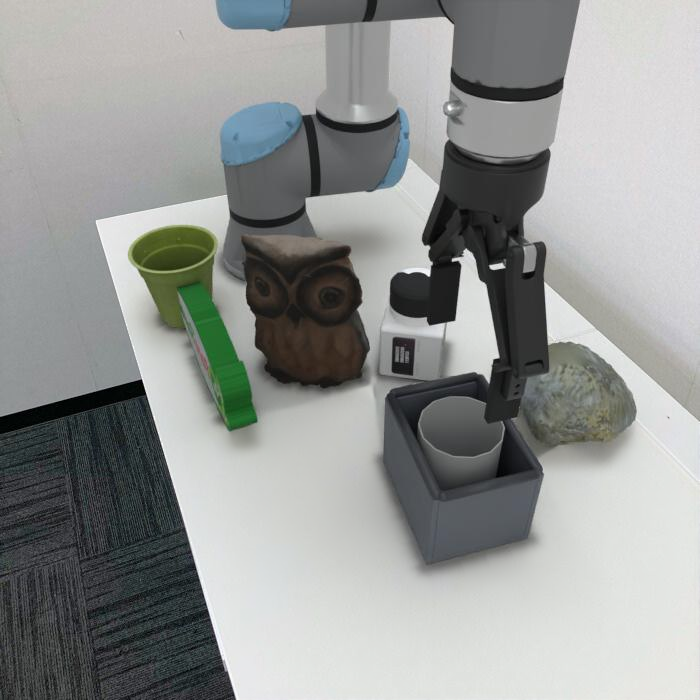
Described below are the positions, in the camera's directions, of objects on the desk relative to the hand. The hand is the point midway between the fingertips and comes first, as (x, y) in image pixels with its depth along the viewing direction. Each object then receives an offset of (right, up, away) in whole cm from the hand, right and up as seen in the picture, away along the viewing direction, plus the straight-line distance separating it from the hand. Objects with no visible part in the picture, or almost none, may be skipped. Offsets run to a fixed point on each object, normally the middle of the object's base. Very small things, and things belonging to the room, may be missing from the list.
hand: (468, 365), depth 64 cm
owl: (-15, 0, +30) cm, 33 cm away
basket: (-5, -12, +8) cm, 15 cm away
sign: (-28, -2, +27) cm, 39 cm away
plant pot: (-34, +6, +37) cm, 51 cm away
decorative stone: (+15, -7, +21) cm, 27 cm away
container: (-2, 0, +29) cm, 29 cm away
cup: (0, -14, +12) cm, 18 cm away
